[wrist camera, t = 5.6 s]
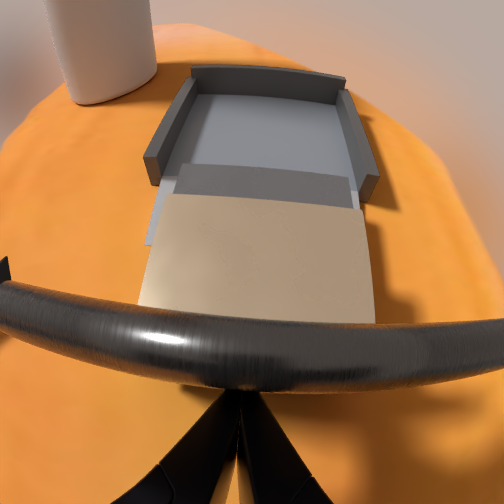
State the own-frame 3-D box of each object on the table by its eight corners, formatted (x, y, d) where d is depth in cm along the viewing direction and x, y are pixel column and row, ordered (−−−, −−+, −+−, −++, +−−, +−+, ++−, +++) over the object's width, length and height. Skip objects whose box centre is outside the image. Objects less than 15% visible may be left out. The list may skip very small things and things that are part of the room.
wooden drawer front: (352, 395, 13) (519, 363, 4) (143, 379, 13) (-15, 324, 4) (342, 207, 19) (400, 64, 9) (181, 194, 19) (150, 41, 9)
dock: (372, 270, 18) (405, 227, 14) (135, 251, 18) (109, 204, 14) (339, 116, 28) (349, 78, 23) (191, 105, 28) (187, 65, 24)
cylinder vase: (96, 71, 33) (73, -59, 12) (169, 60, 34) (159, -86, 12) (56, 114, 27) (14, -48, 6) (139, 100, 27) (115, -97, 6)
